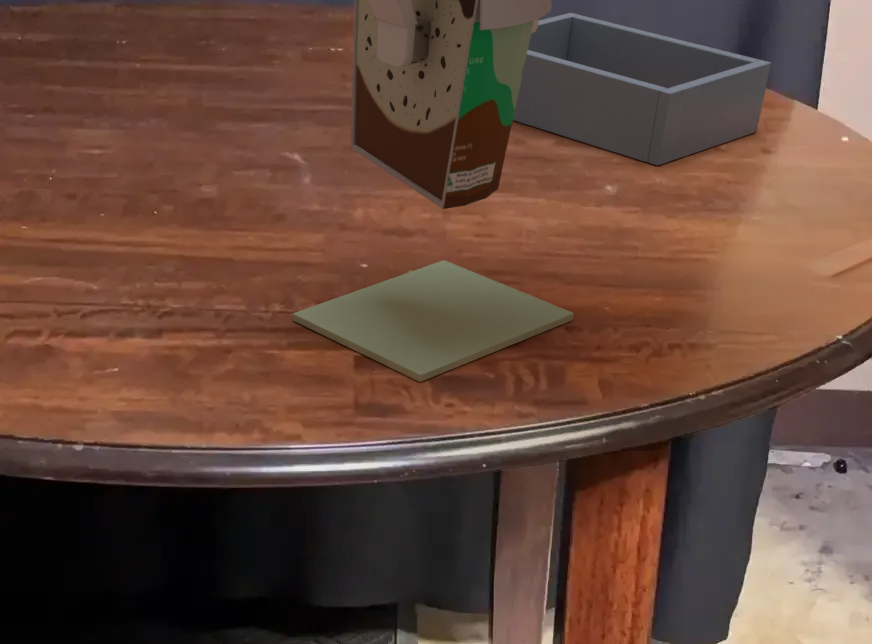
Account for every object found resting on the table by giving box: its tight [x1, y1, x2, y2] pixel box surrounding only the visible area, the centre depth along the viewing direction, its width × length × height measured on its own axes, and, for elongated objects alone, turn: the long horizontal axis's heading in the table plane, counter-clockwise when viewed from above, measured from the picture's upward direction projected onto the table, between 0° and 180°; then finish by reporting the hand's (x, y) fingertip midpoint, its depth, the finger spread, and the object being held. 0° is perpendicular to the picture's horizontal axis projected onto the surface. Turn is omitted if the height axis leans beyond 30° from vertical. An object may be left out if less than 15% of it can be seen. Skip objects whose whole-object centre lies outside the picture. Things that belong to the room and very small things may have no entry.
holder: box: [513, 12, 772, 167], centre depth 102 cm, size 17×11×4 cm, turn 39°
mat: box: [292, 259, 575, 383], centre depth 76 cm, size 9×11×1 cm
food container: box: [350, 0, 553, 210], centre depth 69 cm, size 12×6×10 cm, turn 22°
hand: (458, 48), depth 69 cm, fingers closed on food container, 6 cm apart
